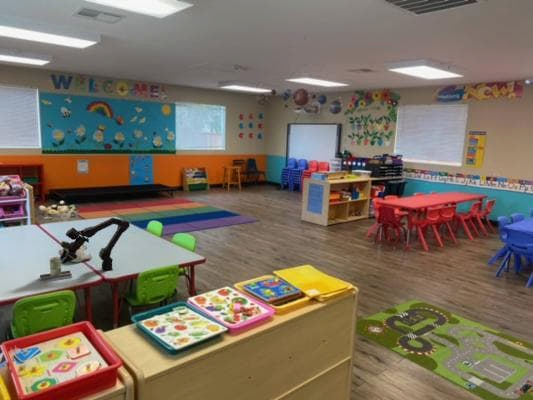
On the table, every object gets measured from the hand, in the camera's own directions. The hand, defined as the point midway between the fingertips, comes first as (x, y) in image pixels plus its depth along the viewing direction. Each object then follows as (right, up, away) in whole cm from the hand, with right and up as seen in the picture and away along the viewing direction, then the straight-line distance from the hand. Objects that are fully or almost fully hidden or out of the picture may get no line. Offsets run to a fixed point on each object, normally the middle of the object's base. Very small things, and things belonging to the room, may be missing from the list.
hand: (60, 261), depth 265 cm
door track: (-3, -11, 0) cm, 11 cm away
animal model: (-10, -4, +39) cm, 40 cm away
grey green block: (-3, -10, 0) cm, 10 cm away
